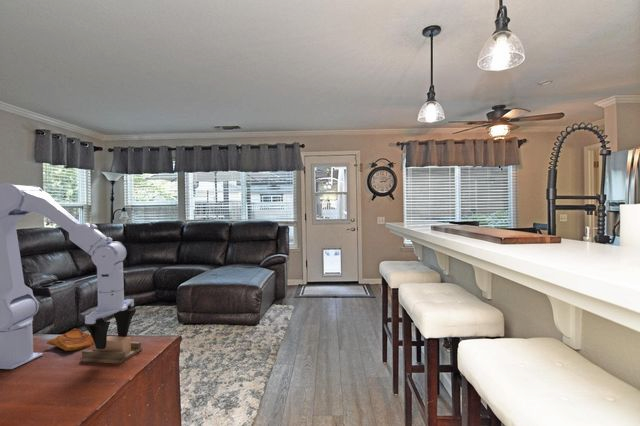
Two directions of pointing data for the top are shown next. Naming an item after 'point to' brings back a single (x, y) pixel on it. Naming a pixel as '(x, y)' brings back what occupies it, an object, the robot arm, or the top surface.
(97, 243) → the robot arm
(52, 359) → the top surface
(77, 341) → the pottery fragment
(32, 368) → the top surface
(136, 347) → the grey u-channel
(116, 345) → the clay strip
